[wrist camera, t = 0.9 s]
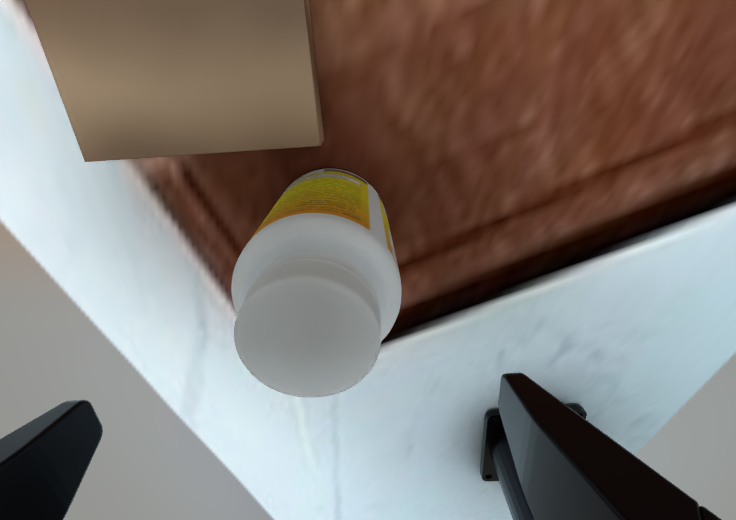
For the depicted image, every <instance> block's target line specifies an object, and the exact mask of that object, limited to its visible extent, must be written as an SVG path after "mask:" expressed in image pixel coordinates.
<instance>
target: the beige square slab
mask: <svg viewBox="0 0 736 520" xmlns="http://www.w3.org/2000/svg"><path fill="white" fill-rule="evenodd" d="M25 2H26V4H27V7H28V10H29V12H30V15H31V18H32V20H33V23H34V26H35V28H36V31H37V34H38V37H39V39H40V42H41V45H42V47H43V50H44V53H45V55H46V58H47V61H48V63H49V66H50V69H51V72H52V74H53V77H54V80H55V82H56V85H57V88H58V90H59V93H60V96H61V98H62V101H63V104H64V106H65V109H66V112H67V115H68V117H69V120H70V123H71V125H72V128H73V131H74V133H75V136H76V139H77V141H78V144H79V147H80V150H81V152H82V155H83V158H84V160H85V162H91V161H105V160H120V159H135V158H149V157H164V156H179V155H193V154H208V153H223V152H237V151H252V150H267V149H281V148H296V147H311V146H320V145H321V144H322V143H323V141H324V133H323V123H322V114H321V105H320V95H319V86H318V77H317V67H316V58H315V49H314V39H313V30H312V21H311V11H310V2H309V0H25Z"/></svg>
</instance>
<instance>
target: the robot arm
mask: <svg viewBox="0 0 736 520" xmlns="http://www.w3.org/2000/svg"><path fill="white" fill-rule="evenodd" d="M493 418H494V419H493ZM585 419H586V412H585V410H584V409H583V408H582V406H579V405H575V406H566V405H565V404H564V403H562V402H561V401H560V400H558V399H557V398H556V397H554V396H553V395H552V394H550V393H549V392H547V391H546V390H545V389H543V388H542V387H541V386H539V385H538V384H537V383H535V382H534V381H533V380H531V379H530V378H528V377H527V376H526V375H524V374H522V373H508V374H504V375H502V378H501V384H500V393H499V410H493V411H490V412H488V413H487V414H486V416H485V426H484V437H483V448H482V459H481V470H480V473H481V476H482V479H483V480H484V481H500V484H501V487H502V490H503V493H504V496H505V498H506V501H507V504H508V507H509V510H510V512H511V515H512V518H513V520H721V519H720V518H718V517H717V516H716V515H715V514H713V513H712V512H710V511H709V510H708V509H706V508H705V507H703V506H699V505H698V503H697V502H696V501H695V500H694V499H693V498H691V497H690V496H688V495H687V494H686V493H684V492H683V491H682V490H680V489H679V488H678V487H676V486H675V485H674V484H672V483H671V482H669V481H668V480H667V479H665V478H664V477H663V476H661V475H660V474H659V473H657V472H656V471H654V470H653V469H652V468H650V467H649V466H648V465H646V464H645V463H644V462H642V461H641V460H640V459H638V458H637V457H636V456H634V455H633V454H632V453H630V452H629V451H627V450H626V449H625V448H623V447H622V446H621V445H619V444H618V443H617V442H615V441H614V440H613V439H611V438H610V437H608V436H607V435H606V434H604V433H603V432H602V431H600V430H599V429H598V428H596V427H595V426H594V425H592V424H591V423H590V422H588V421H587V420H585ZM102 432H103V430H102V425H101V423H100V421H99V419H98V417H97V415H96V413H95V411H94V409H93V406H92V405H91V403H90V402H89V401H87V400H73V401H66V402H64V403H62V404H60V405H58V406H57V407H55V408H53V409H51V410H50V411H48V412H46V413H45V414H43V415H41V416H40V417H38V418H36V419H34V420H33V421H31V422H29V423H27V424H26V425H24V426H22V427H21V428H19V429H17V430H15V431H14V432H12V433H11V434H8V435H7V436H5V437H3V438H2V439H0V520H63V519H64V517H65V515H66V513H67V511H68V509H69V507H70V505H71V503H72V501H73V499H74V497H75V494H76V492H77V490H78V488H79V486H80V483H81V481H82V479H83V477H84V474H85V472H86V470H87V468H88V466H89V464H90V462H91V459H92V457H93V455H94V453H95V451H96V448H97V446H98V444H99V442H100V440H101V437H102Z"/></svg>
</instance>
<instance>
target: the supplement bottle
mask: <svg viewBox="0 0 736 520" xmlns="http://www.w3.org/2000/svg"><path fill="white" fill-rule="evenodd" d="M231 292H232V300H233V305H234V308H235V311H236V314H237V318H236V322H235V328H234V341H235V345H236V349H237V352H238V354H239V357H240V359H241V360H242V362H243V364H244V365H245V367H246V368H247V369H248V370H249V371H250V372H251V374H252V375H253V376H255V377H256V378H257V379H258V380H259V381H260V382H262V383H263V384H265V385H267V386H268V387H270V388H272V389H274V390H277V391H279V392H282V393H285V394H288V395H293V396H298V397H323V396H329V395H333V394H336V393H339V392H342V391H344V390H346V389H349V388H350V387H352V386H354V385H355V384H357V383H358V382H359V381H360V380H362V379H363V378H364V377H365V376H366V375H367V374H368V372H369V371H370V370H371V368H372V367H373V366H374V364H375V362H376V360H377V357H378V354H379V350H380V345H381V341H382V340H383V339H384V338H385V337H386V336H387V334H388V333H389V332H390V330H391V328H392V327H393V325H394V323H395V321H396V318H397V316H398V313H399V309H400V305H401V296H402V289H401V279H400V274H399V269H398V264H397V259H396V255H395V250H394V246H393V241H392V235H391V231H390V227H389V223H388V218H387V214H386V210H385V207H384V205H383V202H382V200H381V198H380V197H379V195H378V193H377V192H376V191H375V189H374V188H373V187H372V186H371V185H370V184H369V183H368V182H367V181H365V180H364V179H362V178H361V177H359V176H357V175H355V174H353V173H351V172H348V171H344V170H340V169H320V170H315V171H312V172H309V173H307V174H305V175H303V176H301V177H300V178H298V179H296V180H295V181H294V182H293V183H292V184H291V185H290V186H289V187H288V188H287V189H286V190H285V191H284V193H283V194H282V196H281V197H280V199H279V200H278V201H277V203H276V204H275V205H274V207H273V208H272V210H271V211H270V212H269V214H268V215H267V217H266V218H265V219H264V221H263V222H262V224H261V225H260V226H259V228H258V229H257V231H256V232H255V233H254V235H253V236H252V238H251V239H250V240H249V242H248V243H247V245H246V246H245V248H244V249H243V251H242V253H241V254H240V256H239V258H238V260H237V263H236V265H235V268H234V272H233V276H232V287H231Z"/></svg>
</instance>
